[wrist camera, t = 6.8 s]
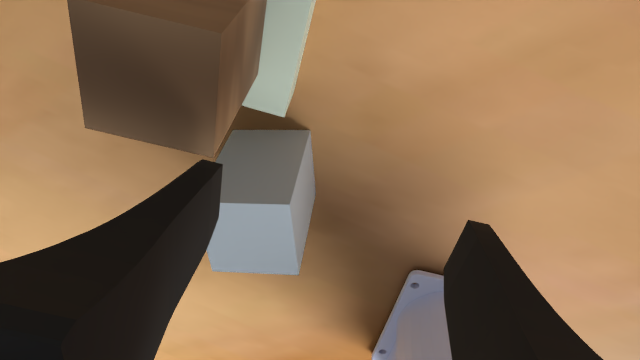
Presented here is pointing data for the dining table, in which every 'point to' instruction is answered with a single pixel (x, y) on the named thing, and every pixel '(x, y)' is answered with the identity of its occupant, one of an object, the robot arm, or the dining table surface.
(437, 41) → the dining table surface
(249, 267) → the bluegrey post
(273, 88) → the sage slab
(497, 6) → the dining table surface
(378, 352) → the robot arm
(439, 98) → the dining table surface
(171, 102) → the walnut post
